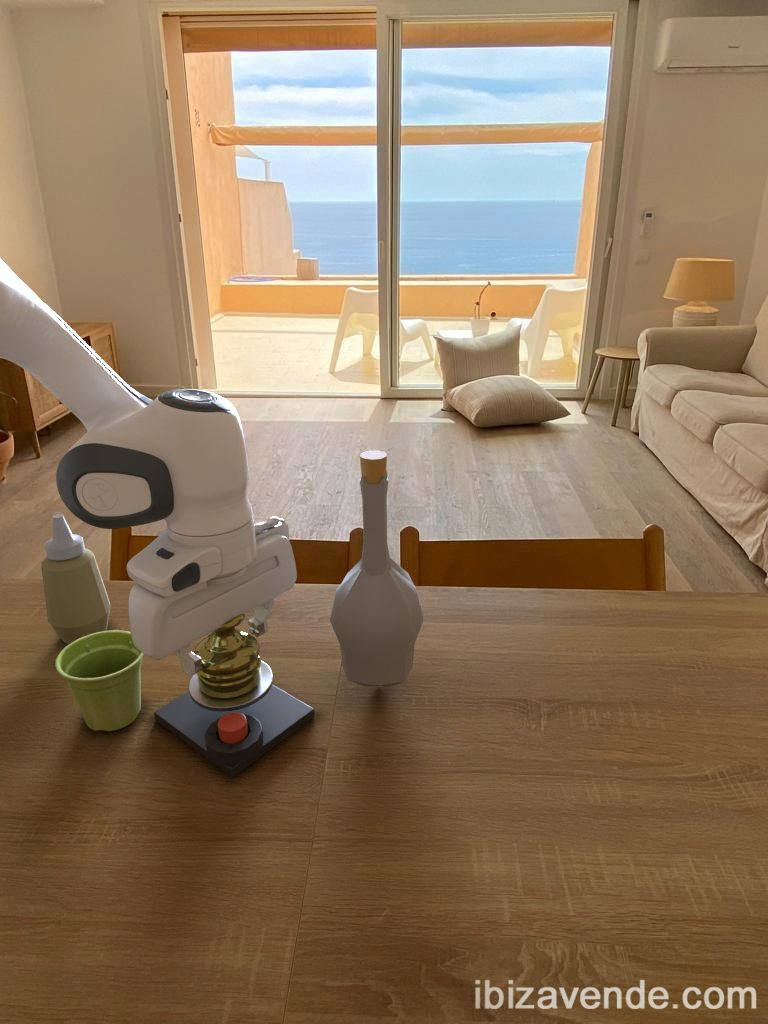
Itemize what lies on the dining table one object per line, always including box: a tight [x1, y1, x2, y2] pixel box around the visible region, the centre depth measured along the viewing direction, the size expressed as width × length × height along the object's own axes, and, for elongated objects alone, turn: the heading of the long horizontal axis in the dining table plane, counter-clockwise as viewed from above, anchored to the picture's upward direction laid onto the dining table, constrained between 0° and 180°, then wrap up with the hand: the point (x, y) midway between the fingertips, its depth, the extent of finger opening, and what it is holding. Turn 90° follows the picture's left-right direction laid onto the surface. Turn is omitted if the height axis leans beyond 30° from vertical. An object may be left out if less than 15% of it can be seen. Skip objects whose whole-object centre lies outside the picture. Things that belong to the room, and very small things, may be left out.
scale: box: [153, 683, 315, 778], centre depth 79 cm, size 14×12×3 cm
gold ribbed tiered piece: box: [193, 614, 262, 699], centre depth 79 cm, size 7×7×10 cm
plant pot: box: [55, 629, 145, 732], centre depth 79 cm, size 9×9×9 cm
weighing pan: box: [188, 660, 274, 712], centre depth 81 cm, size 10×10×1 cm
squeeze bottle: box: [40, 513, 112, 645], centre depth 93 cm, size 8×8×18 cm
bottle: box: [329, 449, 424, 688], centre depth 79 cm, size 11×11×30 cm
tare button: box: [218, 712, 248, 744], centre depth 74 cm, size 3×3×2 cm
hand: (227, 651), depth 79 cm, fingers open, 8 cm apart
